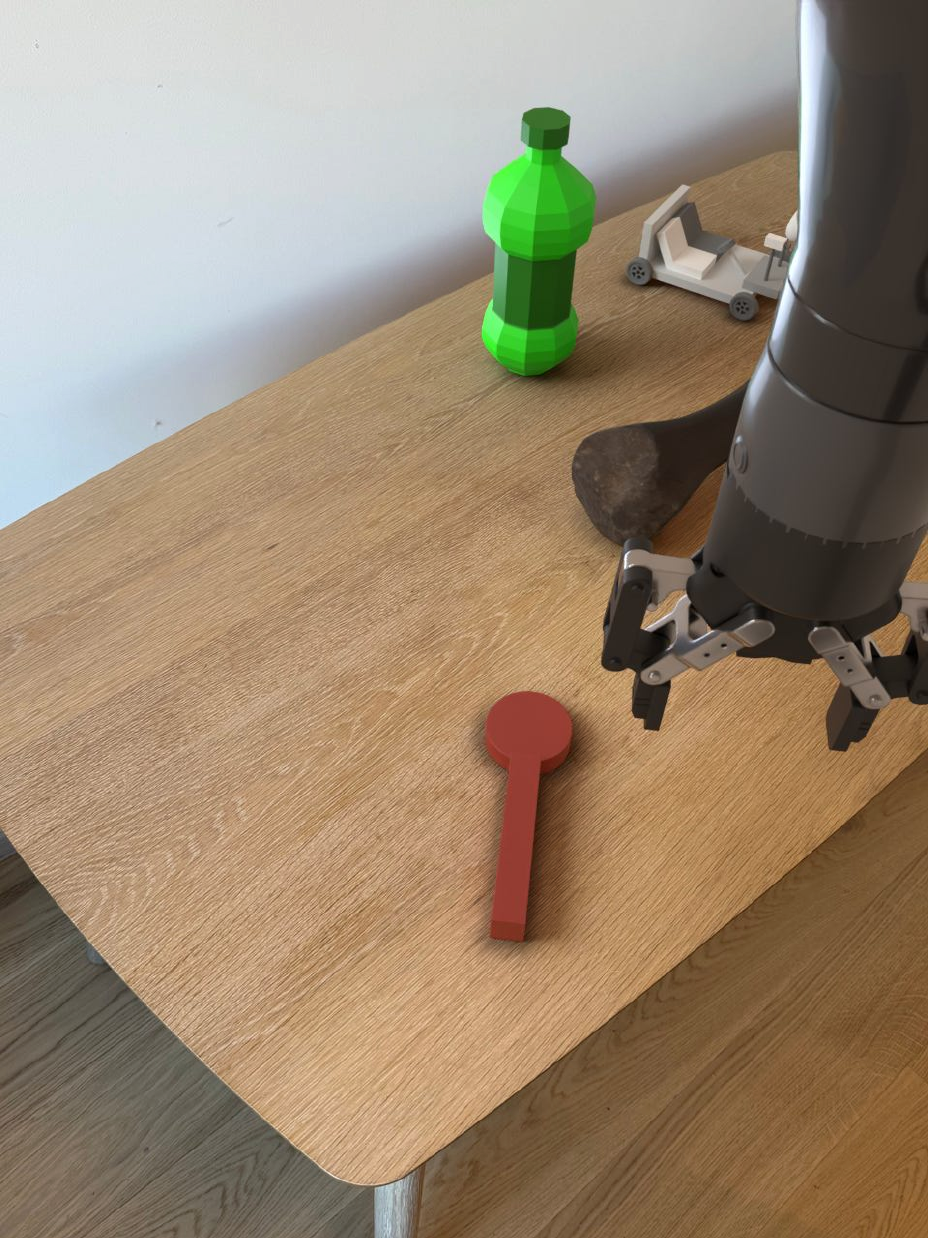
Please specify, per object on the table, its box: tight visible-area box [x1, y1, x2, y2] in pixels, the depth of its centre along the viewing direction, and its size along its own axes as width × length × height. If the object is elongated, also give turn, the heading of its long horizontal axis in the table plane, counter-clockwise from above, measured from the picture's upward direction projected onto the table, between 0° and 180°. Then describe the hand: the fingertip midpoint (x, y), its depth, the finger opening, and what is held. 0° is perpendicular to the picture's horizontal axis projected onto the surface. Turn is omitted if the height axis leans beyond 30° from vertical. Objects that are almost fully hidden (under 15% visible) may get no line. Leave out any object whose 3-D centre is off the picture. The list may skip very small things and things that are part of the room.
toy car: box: [625, 183, 798, 321], centre depth 120 cm, size 18×10×12 cm
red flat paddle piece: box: [484, 690, 574, 943], centre depth 77 cm, size 19×6×3 cm, turn 173°
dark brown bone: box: [571, 377, 751, 548], centre depth 100 cm, size 11×10×28 cm
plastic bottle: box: [481, 106, 597, 377], centre depth 104 cm, size 10×10×25 cm
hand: (741, 725), depth 52 cm, fingers open, 8 cm apart
